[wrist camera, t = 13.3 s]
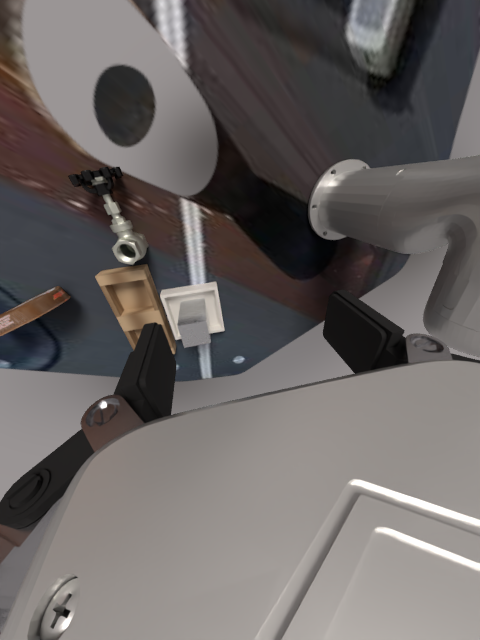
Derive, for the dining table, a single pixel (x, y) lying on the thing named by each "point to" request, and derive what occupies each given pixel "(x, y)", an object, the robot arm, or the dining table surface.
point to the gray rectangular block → (194, 323)
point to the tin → (32, 309)
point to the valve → (113, 213)
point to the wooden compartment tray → (134, 301)
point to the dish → (206, 290)
